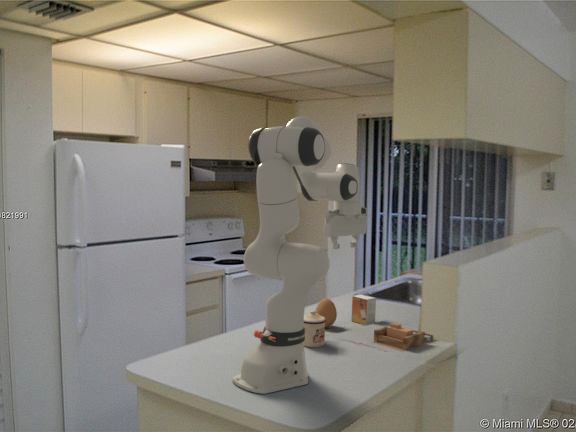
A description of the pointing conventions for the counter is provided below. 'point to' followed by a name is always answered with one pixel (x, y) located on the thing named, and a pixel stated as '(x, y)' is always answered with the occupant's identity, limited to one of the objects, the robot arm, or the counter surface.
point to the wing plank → (425, 336)
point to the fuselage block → (398, 331)
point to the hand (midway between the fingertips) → (345, 248)
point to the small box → (363, 309)
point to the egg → (327, 311)
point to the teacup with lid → (314, 329)
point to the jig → (406, 344)
